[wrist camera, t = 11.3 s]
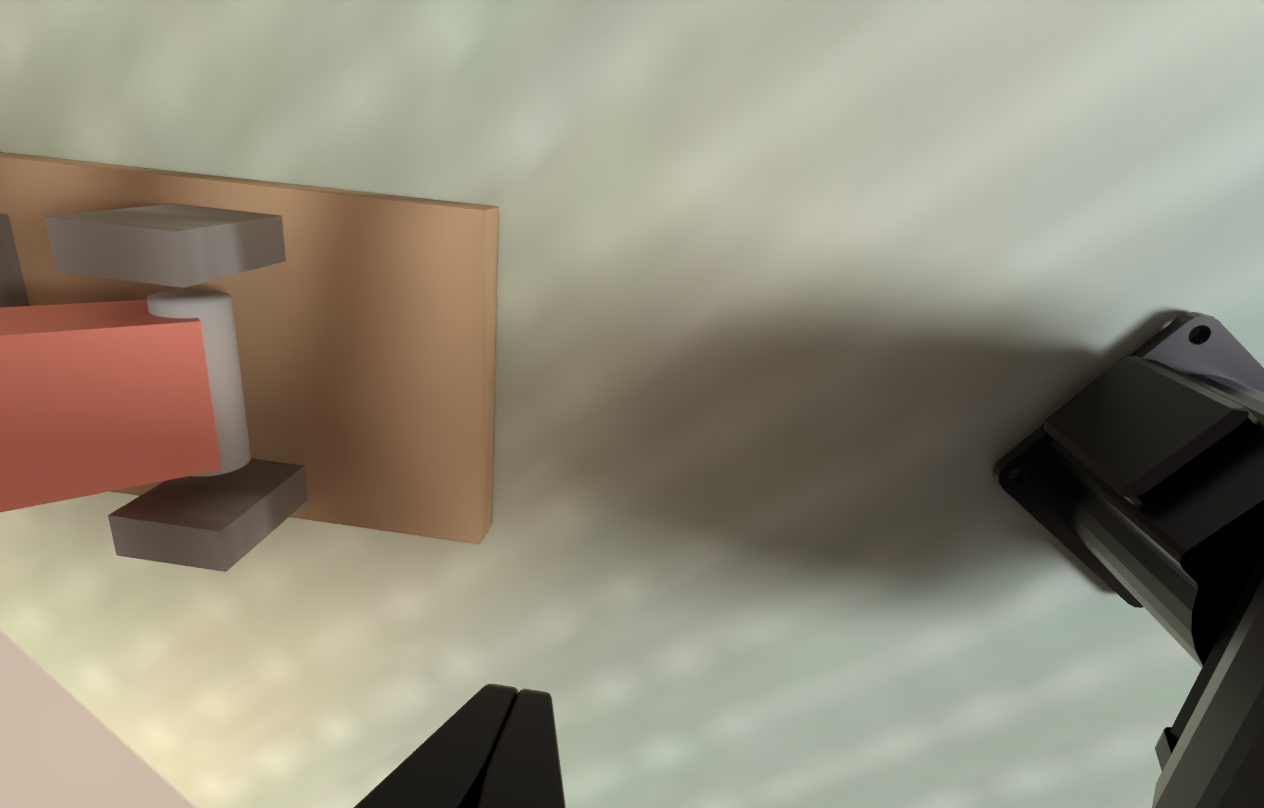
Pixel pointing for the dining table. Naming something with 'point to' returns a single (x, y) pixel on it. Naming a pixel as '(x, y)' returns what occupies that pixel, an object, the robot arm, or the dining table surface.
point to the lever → (118, 395)
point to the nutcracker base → (288, 341)
